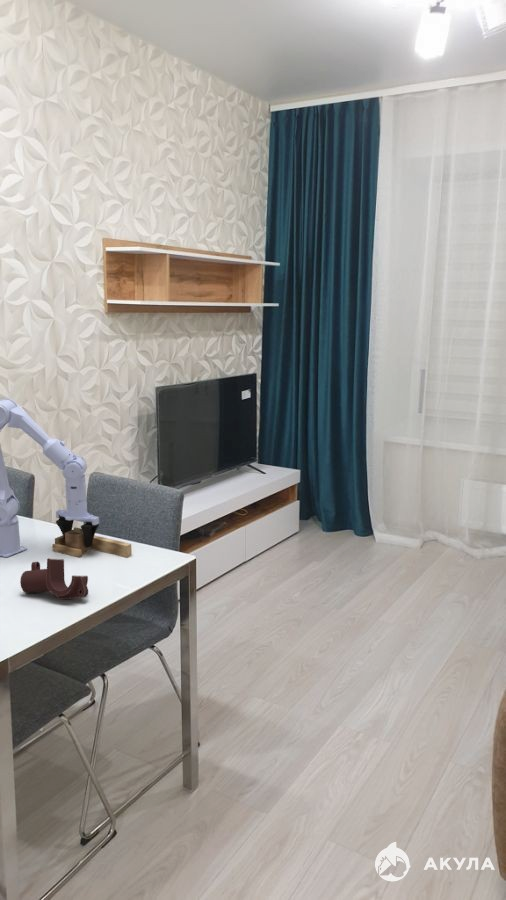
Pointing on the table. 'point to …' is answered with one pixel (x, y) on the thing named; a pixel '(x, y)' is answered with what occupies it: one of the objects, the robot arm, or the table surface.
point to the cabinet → (76, 540)
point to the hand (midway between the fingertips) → (78, 544)
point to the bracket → (53, 580)
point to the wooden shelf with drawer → (95, 547)
